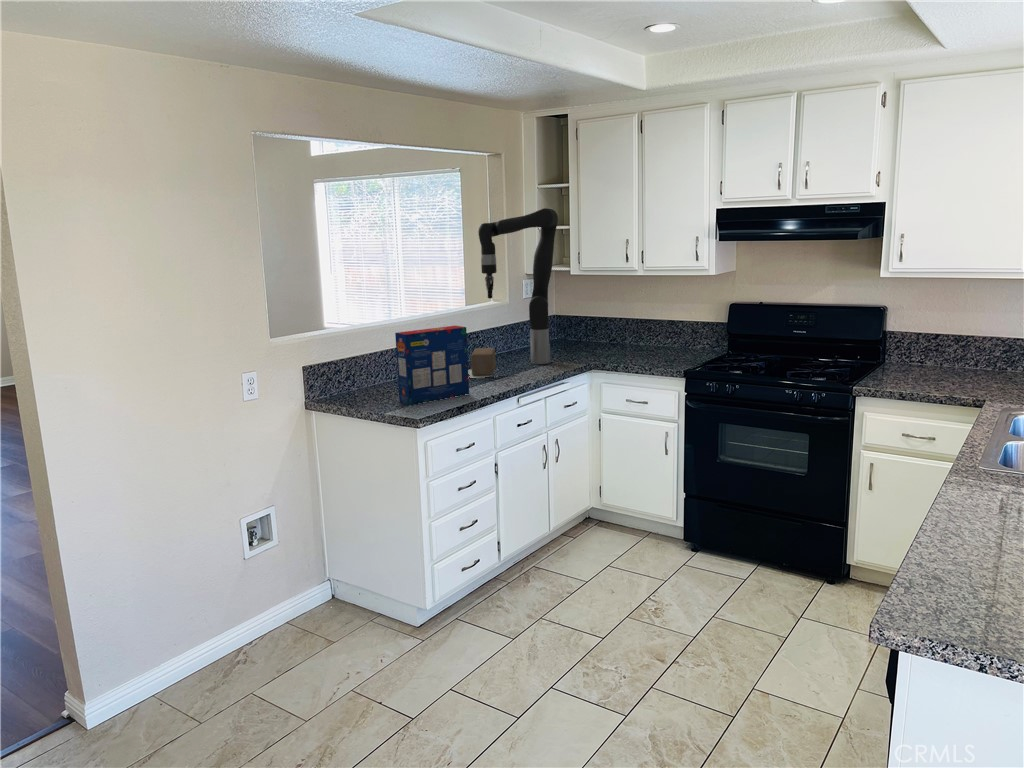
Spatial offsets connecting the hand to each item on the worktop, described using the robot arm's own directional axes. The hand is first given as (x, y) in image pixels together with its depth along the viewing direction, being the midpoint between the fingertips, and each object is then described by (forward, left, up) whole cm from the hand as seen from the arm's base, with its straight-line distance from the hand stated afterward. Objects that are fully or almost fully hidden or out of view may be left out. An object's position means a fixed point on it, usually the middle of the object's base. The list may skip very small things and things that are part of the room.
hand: (490, 298), depth 388 cm
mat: (+6, +34, -32) cm, 47 cm away
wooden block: (+6, +21, -27) cm, 35 cm away
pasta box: (+35, +81, -32) cm, 94 cm away
